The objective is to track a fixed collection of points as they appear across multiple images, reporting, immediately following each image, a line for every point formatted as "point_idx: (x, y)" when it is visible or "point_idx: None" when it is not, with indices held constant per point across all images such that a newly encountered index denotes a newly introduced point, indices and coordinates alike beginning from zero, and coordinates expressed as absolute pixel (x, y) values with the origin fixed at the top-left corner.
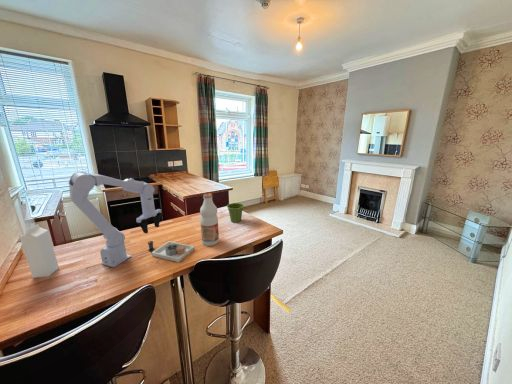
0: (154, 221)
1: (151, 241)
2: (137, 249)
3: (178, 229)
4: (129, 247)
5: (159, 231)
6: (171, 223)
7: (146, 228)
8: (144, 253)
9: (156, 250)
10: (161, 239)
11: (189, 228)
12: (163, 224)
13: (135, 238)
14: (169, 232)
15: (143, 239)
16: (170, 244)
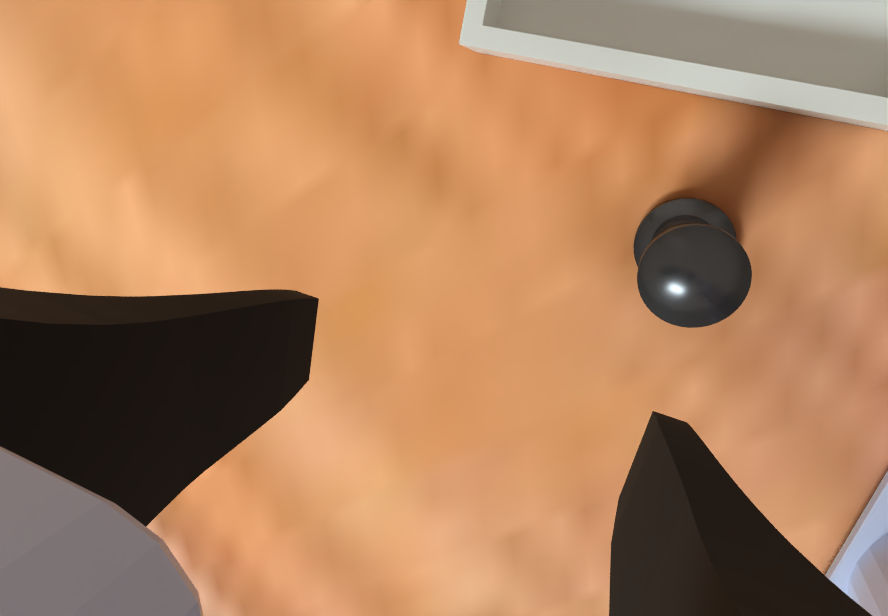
0: (202, 452)
1: (653, 276)
2: None
3: (98, 161)
4: None
5: None
6: None
7: (741, 503)
8: (795, 304)
9: (818, 86)
10: (370, 256)
11: (29, 10)
12: None
13: (403, 580)
14: (191, 243)
15: (409, 486)
16: (502, 6)
